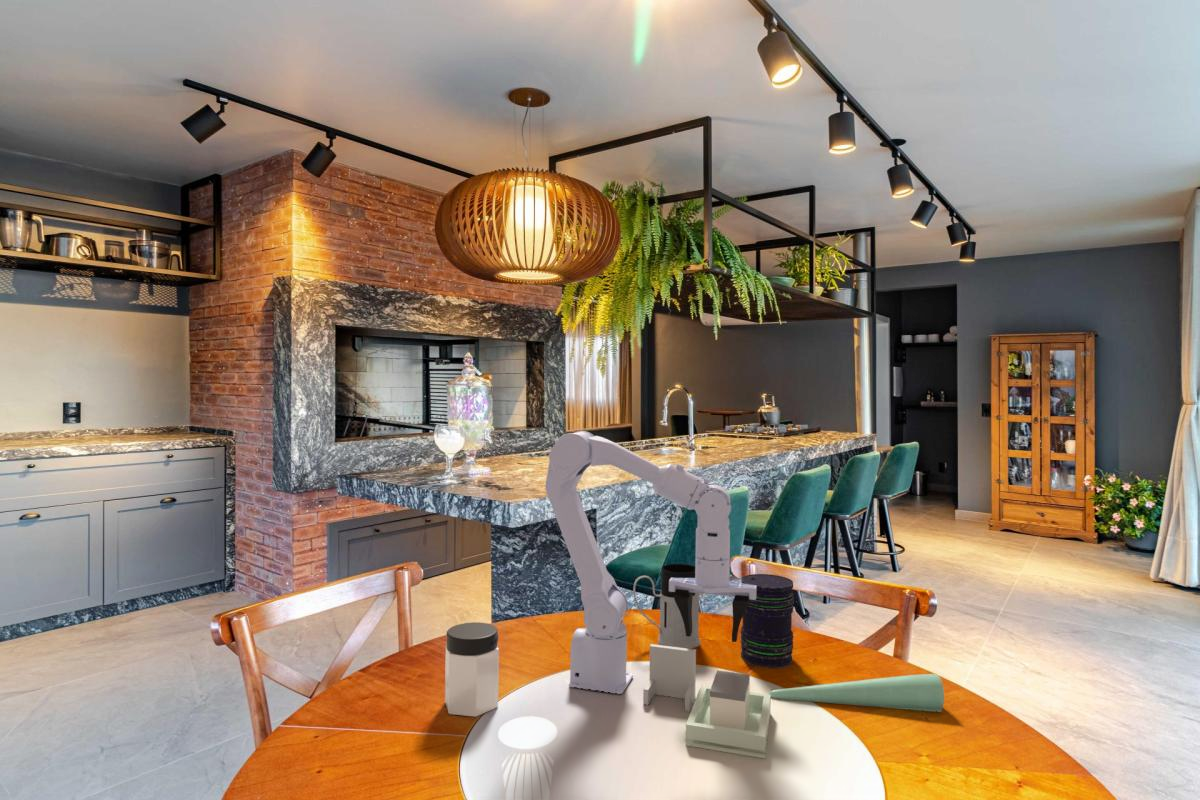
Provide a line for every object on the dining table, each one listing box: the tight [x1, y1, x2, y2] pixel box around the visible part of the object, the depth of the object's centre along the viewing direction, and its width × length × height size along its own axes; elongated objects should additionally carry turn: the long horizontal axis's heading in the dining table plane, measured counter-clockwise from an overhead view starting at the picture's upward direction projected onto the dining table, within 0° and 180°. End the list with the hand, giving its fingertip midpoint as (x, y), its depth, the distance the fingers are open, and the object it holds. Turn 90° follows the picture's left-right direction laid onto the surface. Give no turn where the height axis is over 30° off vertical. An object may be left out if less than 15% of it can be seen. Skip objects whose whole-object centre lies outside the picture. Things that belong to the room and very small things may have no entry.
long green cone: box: [769, 673, 945, 713], centre depth 110 cm, size 5×6×27 cm
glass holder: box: [632, 563, 702, 649], centre depth 137 cm, size 9×14×15 cm, turn 102°
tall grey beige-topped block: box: [710, 669, 751, 730], centre depth 101 cm, size 5×8×6 cm, turn 163°
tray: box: [685, 684, 771, 760], centre depth 101 cm, size 11×14×3 cm
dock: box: [642, 643, 697, 713], centre depth 110 cm, size 8×5×8 cm
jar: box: [444, 621, 500, 718], centre depth 108 cm, size 9×8×12 cm
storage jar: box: [739, 573, 795, 669], centre depth 129 cm, size 10×10×15 cm
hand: (711, 637), depth 113 cm, fingers open, 7 cm apart
